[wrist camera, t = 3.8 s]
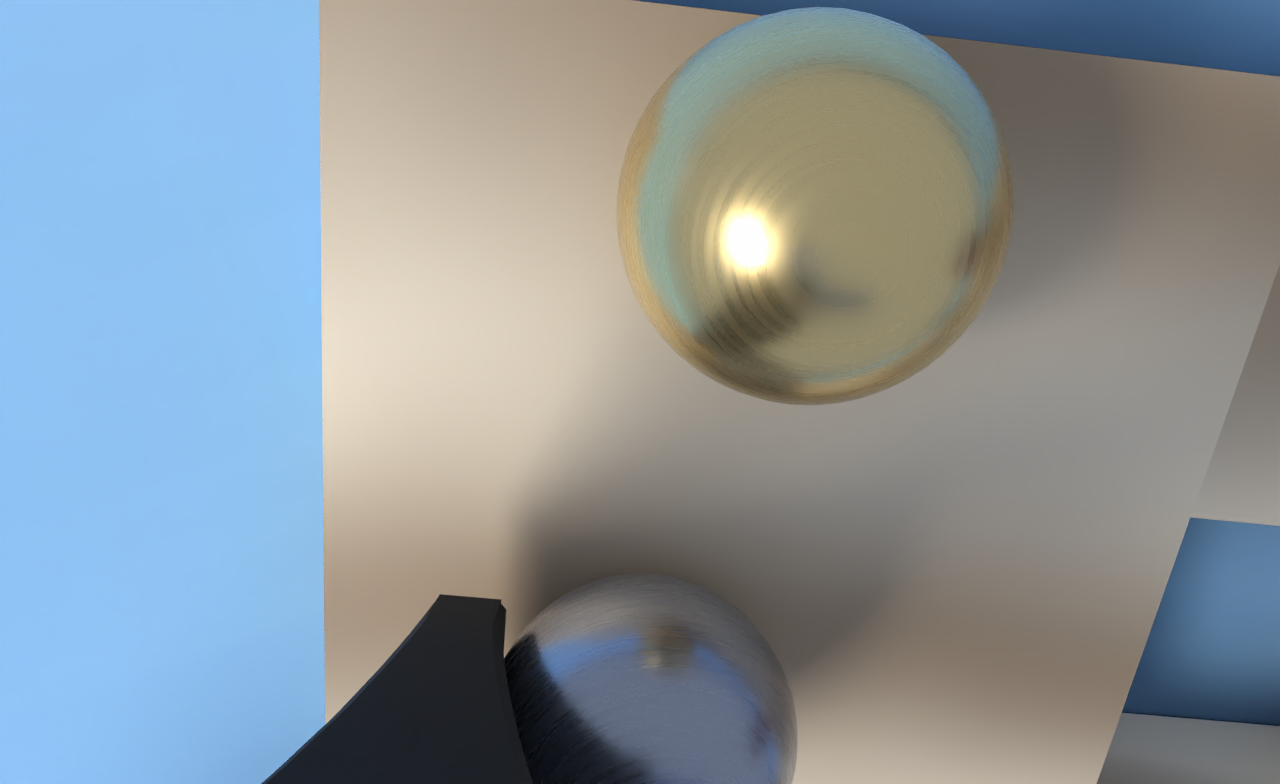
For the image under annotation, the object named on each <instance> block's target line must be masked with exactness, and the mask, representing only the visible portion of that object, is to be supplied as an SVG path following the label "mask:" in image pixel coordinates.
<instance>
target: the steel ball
mask: <svg viewBox="0 0 1280 784" xmlns="http://www.w3.org/2000/svg"><path fill="white" fill-rule="evenodd" d="M504 661H505V669H506V677H507V683H508V689H509V694H510V699H511V703H512V708H513V712H514V716H515V721H516V725H517V729H518V733H519V738H520V741H521V745H522V749H523V752H524V756H525V759H526V763H527V766H528V769H529V772H530V775H531V778H532V781H533V784H792V781H793V777H794V773H795V767H796V759H797V746H798V733H797V720H796V712H795V707H794V702H793V696H792V693H791V690H790V687H789V684H788V681H787V678H786V676H785V673H784V670H783V668H782V666H781V664H780V662H779V660H778V658H777V657H776V655H775V653H774V651H773V650H772V648H771V646H770V644H769V643H768V641H767V640H766V638H765V637H764V636H763V635H762V634H761V632H760V631H759V630H758V629H757V627H756V626H755V625H754V624H753V623H752V622H751V621H750V619H749V618H748V617H746V616H745V615H744V614H743V613H742V612H741V611H740V610H739V609H738V608H736V607H735V606H734V605H732V604H731V603H729V602H728V601H727V600H725V599H724V598H722V597H721V596H719V595H718V594H716V593H715V592H712V591H710V590H708V589H706V588H704V587H702V586H700V585H697V584H694V583H692V582H689V581H686V580H683V579H680V578H676V577H671V576H666V575H661V574H649V573H635V574H623V575H616V576H610V577H607V578H603V579H599V580H595V581H592V582H590V583H587V584H585V585H582V586H580V587H577V588H576V589H574V590H572V591H570V592H568V593H566V594H564V595H563V596H561V597H560V598H558V599H557V600H555V601H554V602H552V603H551V604H550V605H548V606H547V607H546V608H545V609H544V610H543V611H542V612H541V613H539V614H538V615H537V616H536V617H535V618H534V619H533V620H532V621H531V622H530V623H529V624H528V625H527V626H526V627H525V629H524V630H523V631H522V632H521V633H520V635H519V636H518V638H517V639H516V641H515V642H514V644H513V645H512V647H511V648H510V650H509V651H508V653H507V655H506V656H505V658H504Z"/></svg>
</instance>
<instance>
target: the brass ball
mask: <svg viewBox="0 0 1280 784" xmlns="http://www.w3.org/2000/svg"><path fill="white" fill-rule="evenodd" d="M1013 208H1014V193H1013V181H1012V170H1011V164H1010V160H1009V155H1008V151H1007V146H1006V142H1005V139H1004V137H1003V134H1002V131H1001V129H1000V126H999V123H998V121H997V118H996V116H995V115H994V113H993V111H992V109H991V107H990V105H989V104H988V102H987V100H986V98H985V96H984V95H983V94H982V92H981V91H980V90H979V88H978V87H977V86H976V84H975V83H974V82H973V80H972V79H971V78H970V76H969V75H968V74H967V73H966V71H965V70H964V69H963V68H962V67H961V66H960V65H959V64H958V63H957V62H956V61H955V60H954V59H953V58H952V57H951V56H950V55H949V54H948V53H947V52H946V51H944V50H943V49H941V48H940V47H939V46H937V45H936V44H935V43H933V42H932V41H930V40H929V39H928V38H926V37H925V36H923V35H921V34H919V33H918V32H916V31H914V30H912V29H910V28H908V27H906V26H904V25H902V24H900V23H897V22H894V21H892V20H889V19H886V18H883V17H880V16H877V15H874V14H871V13H867V12H861V11H856V10H851V9H846V8H831V7H809V8H799V9H789V10H785V11H781V12H776V13H772V14H768V15H764V16H761V17H758V18H756V19H753V20H750V21H748V22H745V23H743V24H740V25H737V26H736V27H734V28H732V29H730V30H728V31H726V32H725V33H723V34H721V35H719V36H717V37H715V38H714V39H712V40H711V41H709V42H708V43H707V44H705V45H704V46H703V47H701V48H700V49H698V50H697V51H696V52H694V53H693V54H692V55H690V56H689V57H688V58H687V59H686V60H685V61H684V62H683V63H682V64H681V65H680V66H679V67H678V68H677V69H676V70H675V71H674V72H673V73H672V74H671V75H670V76H669V77H668V78H667V80H666V81H665V82H664V83H663V85H662V86H661V87H660V88H659V90H658V91H657V92H656V93H655V94H654V96H653V98H652V99H651V101H650V102H649V104H648V106H647V107H646V109H645V111H644V112H643V114H642V115H641V117H640V119H639V121H638V123H637V126H636V128H635V130H634V132H633V134H632V137H631V139H630V141H629V144H628V147H627V150H626V154H625V157H624V160H623V164H622V167H621V173H620V179H619V185H618V191H617V212H616V220H617V230H618V241H619V246H620V250H621V255H622V259H623V263H624V267H625V271H626V274H627V277H628V280H629V282H630V285H631V288H632V290H633V293H634V295H635V297H636V299H637V301H638V303H639V304H640V306H641V308H642V310H643V312H644V314H645V316H646V317H647V318H648V320H649V321H650V323H651V324H652V325H653V327H654V328H655V329H656V331H657V332H658V334H659V335H660V336H661V337H662V338H663V339H664V340H665V341H666V342H667V343H668V344H669V345H670V346H671V348H672V349H673V350H674V351H675V352H676V353H677V354H678V355H679V356H680V357H681V358H683V359H684V360H685V361H686V362H688V363H689V364H690V365H691V366H693V367H694V368H695V369H696V370H698V371H699V372H701V373H702V374H704V375H705V376H707V377H709V378H710V379H712V380H714V381H715V382H717V383H719V384H721V385H723V386H726V387H728V388H730V389H732V390H735V391H737V392H739V393H742V394H746V395H749V396H752V397H756V398H759V399H763V400H766V401H771V402H778V403H784V404H790V405H825V404H837V403H842V402H847V401H852V400H856V399H861V398H864V397H867V396H870V395H873V394H876V393H879V392H882V391H884V390H886V389H889V388H891V387H893V386H895V385H897V384H899V383H901V382H904V381H905V380H907V379H909V378H910V377H912V376H914V375H915V374H917V373H918V372H920V371H922V370H923V369H925V368H926V367H928V366H929V365H930V364H931V363H933V362H934V361H935V360H936V359H938V358H939V357H940V356H941V355H943V354H944V353H945V352H946V351H947V350H948V349H949V348H950V347H951V346H952V345H953V344H954V343H955V342H956V341H957V340H958V339H959V338H960V337H961V336H962V335H963V334H964V332H965V331H966V330H967V329H968V327H969V326H970V325H971V324H972V322H973V321H974V320H975V318H976V317H977V316H978V314H979V313H980V311H981V309H982V308H983V306H984V304H985V303H986V301H987V300H988V298H989V296H990V295H991V292H992V290H993V288H994V286H995V284H996V281H997V279H998V277H999V275H1000V273H1001V270H1002V267H1003V263H1004V260H1005V257H1006V254H1007V251H1008V247H1009V241H1010V236H1011V230H1012V225H1013Z"/></svg>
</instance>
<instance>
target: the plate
mask: <svg viewBox="0 0 1280 784" xmlns="http://www.w3.org/2000/svg"><path fill="white" fill-rule="evenodd" d="M761 16H762V15H754V14H745V13H737V12H728V11H720V10H711V9H703V8H694V7H686V6H677V5H669V4H660V3H652V2H643V1H635V0H319V50H320V166H321V282H322V398H323V515H324V631H325V724H327V723H328V722H329V721H330V720H331V719H332V718H333V717H334V716H335V715H336V714H337V713H338V712H339V711H340V710H341V709H342V707H343V706H344V705H345V704H346V703H347V702H348V701H349V700H350V699H351V698H352V697H353V696H354V695H355V694H356V693H357V692H358V691H359V689H360V688H361V687H362V686H363V685H364V684H365V683H366V682H367V681H368V680H369V679H370V678H371V677H372V676H373V675H374V674H375V673H376V672H377V670H378V669H379V668H380V667H381V666H382V665H383V664H384V663H385V661H386V660H387V659H388V658H389V657H390V656H391V655H392V653H393V652H394V651H395V650H396V649H397V648H398V647H399V646H400V644H401V643H402V642H403V641H404V640H405V638H406V637H407V636H408V635H409V634H410V632H411V631H412V630H413V629H414V628H415V626H416V625H417V624H418V623H419V621H420V620H421V619H422V618H423V616H424V615H425V614H426V612H427V611H428V610H429V608H430V607H431V606H432V605H433V603H434V602H435V601H436V599H437V598H438V596H439V594H443V595H455V596H467V597H478V598H490V599H501V604H502V605H503V606H504V607H505V609H506V625H505V640H504V658H505V656H506V655H507V653H508V651H509V650H510V648H511V647H512V645H513V644H514V642H515V641H516V639H517V638H518V636H519V635H520V633H521V632H522V631H523V630H524V629H525V627H526V626H527V625H528V624H529V623H530V622H531V621H532V620H533V619H534V618H535V617H536V616H537V615H538V614H539V613H541V612H542V611H543V610H544V609H545V608H546V607H547V606H548V605H550V604H551V603H552V602H554V601H555V600H557V599H558V598H560V597H561V596H563V595H564V594H566V593H568V592H570V591H572V590H574V589H576V588H577V587H580V586H582V585H585V584H587V583H590V582H592V581H595V580H599V579H603V578H607V577H610V576H616V575H623V574H635V573H649V574H661V575H666V576H671V577H676V578H680V579H683V580H686V581H689V582H692V583H694V584H697V585H700V586H702V587H704V588H706V589H708V590H710V591H712V592H715V593H716V594H718V595H719V596H721V597H722V598H724V599H725V600H727V601H728V602H729V603H731V604H732V605H734V606H735V607H736V608H738V609H739V610H740V611H741V612H742V613H743V614H744V615H745V616H746V617H748V618H749V619H750V621H751V622H752V623H753V624H754V625H755V626H756V627H757V629H758V630H759V631H760V632H761V634H762V635H763V636H764V637H765V638H766V640H767V641H768V643H769V644H770V646H771V648H772V650H773V651H774V653H775V655H776V657H777V658H778V660H779V662H780V664H781V666H782V668H783V670H784V673H785V676H786V678H787V681H788V684H789V687H790V690H791V693H792V696H793V702H794V707H795V712H796V720H797V733H798V746H797V759H796V767H795V773H794V777H793V781H792V784H1280V726H1272V725H1260V724H1249V723H1237V722H1225V721H1213V720H1202V719H1190V718H1178V717H1167V716H1155V715H1143V714H1132V713H1122V710H1123V707H1124V705H1125V702H1126V699H1127V696H1128V693H1129V690H1130V687H1131V685H1132V682H1133V679H1134V676H1135V673H1136V670H1137V668H1138V665H1139V662H1140V659H1141V656H1142V653H1143V651H1144V648H1145V645H1146V642H1147V639H1148V636H1149V634H1150V631H1151V628H1152V625H1153V622H1154V619H1155V617H1156V614H1157V611H1158V608H1159V605H1160V602H1161V600H1162V597H1163V594H1164V591H1165V588H1166V585H1167V583H1168V580H1169V577H1170V574H1171V571H1172V568H1173V566H1174V563H1175V560H1176V557H1177V554H1178V551H1179V549H1180V546H1181V543H1182V540H1183V537H1184V534H1185V531H1186V529H1187V526H1188V523H1189V520H1190V517H1191V518H1201V519H1212V520H1222V521H1233V522H1243V523H1254V524H1264V525H1274V526H1280V76H1271V75H1263V74H1254V73H1246V72H1237V71H1229V70H1220V69H1212V68H1203V67H1195V66H1186V65H1178V64H1169V63H1161V62H1152V61H1144V60H1135V59H1127V58H1118V57H1110V56H1101V55H1093V54H1084V53H1076V52H1067V51H1059V50H1050V49H1042V48H1034V47H1025V46H1017V45H1008V44H1000V43H991V42H983V41H974V40H966V39H957V38H949V37H940V36H932V35H923V34H921V35H923V36H925V37H926V38H928V39H929V40H930V41H932V42H933V43H935V44H936V45H937V46H939V47H940V48H941V49H943V50H944V51H946V52H947V53H948V54H949V55H950V56H951V57H952V58H953V59H954V60H955V61H956V62H957V63H958V64H959V65H960V66H961V67H962V68H963V69H964V70H965V71H966V73H967V74H968V75H969V76H970V78H971V79H972V80H973V82H974V83H975V84H976V86H977V87H978V88H979V90H980V91H981V92H982V94H983V95H984V96H985V98H986V100H987V102H988V104H989V105H990V107H991V109H992V111H993V113H994V115H995V116H996V118H997V121H998V123H999V126H1000V129H1001V131H1002V134H1003V137H1004V139H1005V142H1006V146H1007V151H1008V155H1009V160H1010V164H1011V170H1012V181H1013V193H1014V208H1013V225H1012V230H1011V236H1010V241H1009V247H1008V251H1007V254H1006V257H1005V260H1004V263H1003V267H1002V270H1001V273H1000V275H999V277H998V279H997V281H996V284H995V286H994V288H993V290H992V292H991V295H990V296H989V298H988V300H987V301H986V303H985V304H984V306H983V308H982V309H981V311H980V313H979V314H978V316H977V317H976V318H975V320H974V321H973V322H972V324H971V325H970V326H969V327H968V329H967V330H966V331H965V332H964V334H963V335H962V336H961V337H960V338H959V339H958V340H957V341H956V342H955V343H954V344H953V345H952V346H951V347H950V348H949V349H948V350H947V351H946V352H945V353H944V354H943V355H941V356H940V357H939V358H938V359H936V360H935V361H934V362H933V363H931V364H930V365H929V366H928V367H926V368H925V369H923V370H922V371H920V372H918V373H917V374H915V375H914V376H912V377H910V378H909V379H907V380H905V381H904V382H901V383H899V384H897V385H895V386H893V387H891V388H889V389H886V390H884V391H882V392H879V393H876V394H873V395H870V396H867V397H864V398H861V399H856V400H852V401H847V402H842V403H837V404H825V405H790V404H784V403H778V402H771V401H766V400H763V399H759V398H756V397H752V396H749V395H746V394H742V393H739V392H737V391H735V390H732V389H730V388H728V387H726V386H723V385H721V384H719V383H717V382H715V381H714V380H712V379H710V378H709V377H707V376H705V375H704V374H702V373H701V372H699V371H698V370H696V369H695V368H694V367H693V366H691V365H690V364H689V363H688V362H686V361H685V360H684V359H683V358H681V357H680V356H679V355H678V354H677V353H676V352H675V351H674V350H673V349H672V348H671V346H670V345H669V344H668V343H667V342H666V341H665V340H664V339H663V338H662V337H661V336H660V335H659V334H658V332H657V331H656V329H655V328H654V327H653V325H652V324H651V323H650V321H649V320H648V318H647V317H646V316H645V314H644V312H643V310H642V308H641V306H640V304H639V303H638V301H637V299H636V297H635V295H634V293H633V290H632V288H631V285H630V282H629V280H628V277H627V274H626V271H625V267H624V263H623V259H622V255H621V250H620V246H619V241H618V230H617V220H616V212H617V191H618V185H619V179H620V173H621V167H622V164H623V160H624V157H625V154H626V150H627V147H628V144H629V141H630V139H631V137H632V134H633V132H634V130H635V128H636V126H637V123H638V121H639V119H640V117H641V115H642V114H643V112H644V111H645V109H646V107H647V106H648V104H649V102H650V101H651V99H652V98H653V96H654V94H655V93H656V92H657V91H658V90H659V88H660V87H661V86H662V85H663V83H664V82H665V81H666V80H667V78H668V77H669V76H670V75H671V74H672V73H673V72H674V71H675V70H676V69H677V68H678V67H679V66H680V65H681V64H682V63H683V62H684V61H685V60H686V59H687V58H688V57H689V56H690V55H692V54H693V53H694V52H696V51H697V50H698V49H700V48H701V47H703V46H704V45H705V44H707V43H708V42H709V41H711V40H712V39H714V38H715V37H717V36H719V35H721V34H723V33H725V32H726V31H728V30H730V29H732V28H734V27H736V26H737V25H740V24H743V23H745V22H748V21H750V20H753V19H756V18H758V17H761Z"/></svg>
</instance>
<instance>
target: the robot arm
mask: <svg viewBox="0 0 1280 784" xmlns="http://www.w3.org/2000/svg"><path fill="white" fill-rule="evenodd" d="M505 625H506V609H505V607H504V606H503V605H502V604H501V599H490V598H478V597H467V596H455V595H443V594H439V596H438V598H437V599H436V601H435V602H434V603H433V605H432V606H431V607H430V608H429V610H428V611H427V612H426V614H425V615H424V616H423V618H422V619H421V620H420V621H419V623H418V624H417V625H416V626H415V628H414V629H413V630H412V631H411V632H410V634H409V635H408V636H407V637H406V638H405V640H404V641H403V642H402V643H401V644H400V646H399V647H398V648H397V649H396V650H395V651H394V652H393V653H392V655H391V656H390V657H389V658H388V659H387V660H386V661H385V663H384V664H383V665H382V666H381V667H380V668H379V669H378V670H377V672H376V673H375V674H374V675H373V676H372V677H371V678H370V679H369V680H368V681H367V682H366V683H365V684H364V685H363V686H362V687H361V688H360V689H359V691H358V692H357V693H356V694H355V695H354V696H353V697H352V698H351V699H350V700H349V701H348V702H347V703H346V704H345V705H344V706H343V707H342V709H341V710H340V711H339V712H338V713H337V714H336V715H335V716H334V717H333V718H332V719H331V720H330V721H329V722H328V723H327V724H325V725H324V726H323V727H322V728H321V729H320V730H319V731H318V732H317V733H316V734H315V735H314V736H313V737H312V738H311V739H309V740H308V741H307V742H306V743H305V744H304V745H303V746H302V747H301V748H300V749H299V750H298V751H297V752H296V753H295V754H294V755H292V756H291V757H290V758H289V759H288V760H287V761H286V762H285V763H284V764H283V765H282V766H281V767H280V768H279V769H278V770H276V771H275V772H274V773H273V774H272V775H271V776H270V777H269V778H267V779H266V780H265V781H264V782H263V783H262V784H533V781H532V778H531V775H530V772H529V769H528V766H527V763H526V759H525V756H524V752H523V749H522V745H521V741H520V738H519V733H518V729H517V725H516V721H515V716H514V712H513V708H512V703H511V699H510V694H509V689H508V683H507V677H506V669H505V661H504V640H505Z"/></svg>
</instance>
